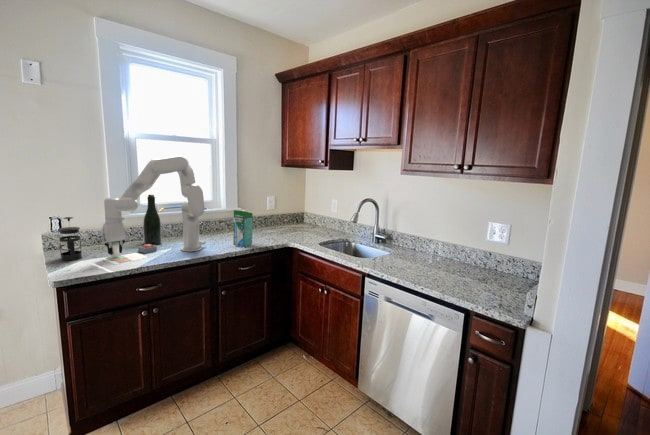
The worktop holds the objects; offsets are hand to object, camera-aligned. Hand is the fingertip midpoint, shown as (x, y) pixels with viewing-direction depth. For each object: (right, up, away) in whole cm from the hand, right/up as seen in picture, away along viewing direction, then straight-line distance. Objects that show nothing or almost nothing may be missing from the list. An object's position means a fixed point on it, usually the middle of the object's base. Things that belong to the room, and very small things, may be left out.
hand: (115, 253), depth 175 cm
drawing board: (+5, -4, +1) cm, 7 cm away
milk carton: (+59, 0, +45) cm, 74 cm away
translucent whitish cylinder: (0, -2, 0) cm, 2 cm away
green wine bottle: (0, +2, +38) cm, 38 cm away
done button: (+9, 0, +16) cm, 18 cm away
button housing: (+9, -2, +16) cm, 18 cm away
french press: (-22, -3, -2) cm, 23 cm away
